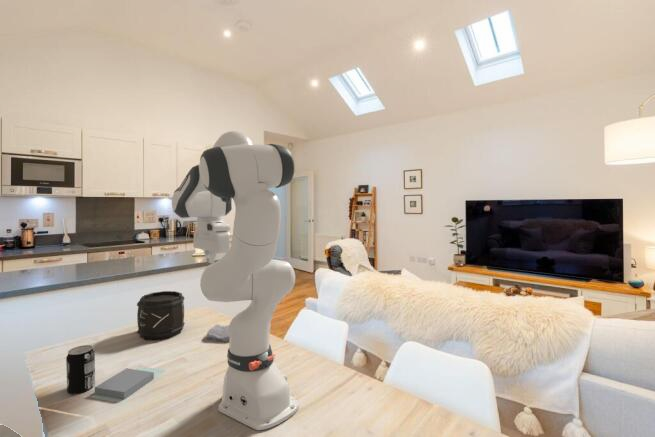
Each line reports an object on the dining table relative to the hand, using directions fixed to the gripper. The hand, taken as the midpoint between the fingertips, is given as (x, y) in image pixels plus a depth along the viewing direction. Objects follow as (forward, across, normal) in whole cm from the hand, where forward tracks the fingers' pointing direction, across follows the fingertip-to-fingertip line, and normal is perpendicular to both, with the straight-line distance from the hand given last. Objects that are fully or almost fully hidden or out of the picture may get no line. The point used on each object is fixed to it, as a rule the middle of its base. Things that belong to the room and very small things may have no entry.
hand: (210, 262), depth 119 cm
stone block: (+34, -9, +10) cm, 36 cm away
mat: (+33, +3, -27) cm, 43 cm away
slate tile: (+32, +1, -24) cm, 40 cm away
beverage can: (+33, -4, -38) cm, 51 cm away
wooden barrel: (+33, -31, -6) cm, 46 cm away
